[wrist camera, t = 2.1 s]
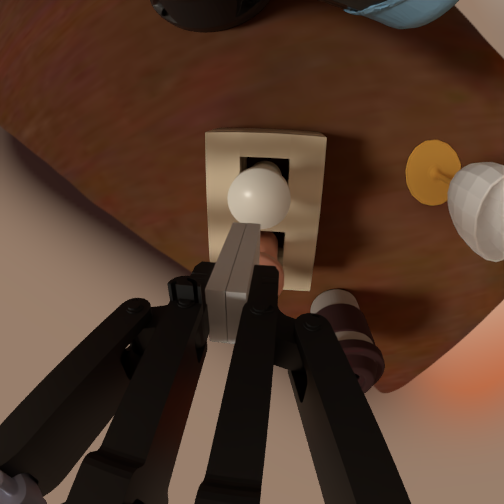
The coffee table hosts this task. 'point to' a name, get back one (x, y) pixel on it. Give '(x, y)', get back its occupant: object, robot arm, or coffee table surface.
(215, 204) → the beech block
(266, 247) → the terracotta plug
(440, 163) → the cup
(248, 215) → the ivory plug
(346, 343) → the coffee cup
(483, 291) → the coffee table surface
